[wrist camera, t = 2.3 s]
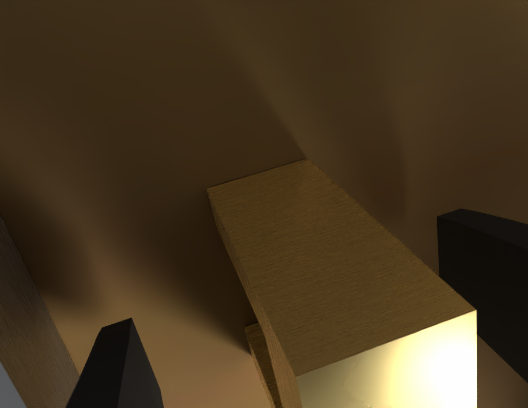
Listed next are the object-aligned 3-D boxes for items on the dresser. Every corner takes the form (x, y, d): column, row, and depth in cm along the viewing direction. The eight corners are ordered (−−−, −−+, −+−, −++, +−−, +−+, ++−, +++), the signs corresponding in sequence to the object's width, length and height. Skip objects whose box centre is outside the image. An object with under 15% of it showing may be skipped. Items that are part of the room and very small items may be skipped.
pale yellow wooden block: (335, 326, 14) (477, 541, 9) (251, 356, 13) (346, 601, 8) (307, 158, 12) (476, 309, 6) (206, 188, 11) (295, 376, 6)
